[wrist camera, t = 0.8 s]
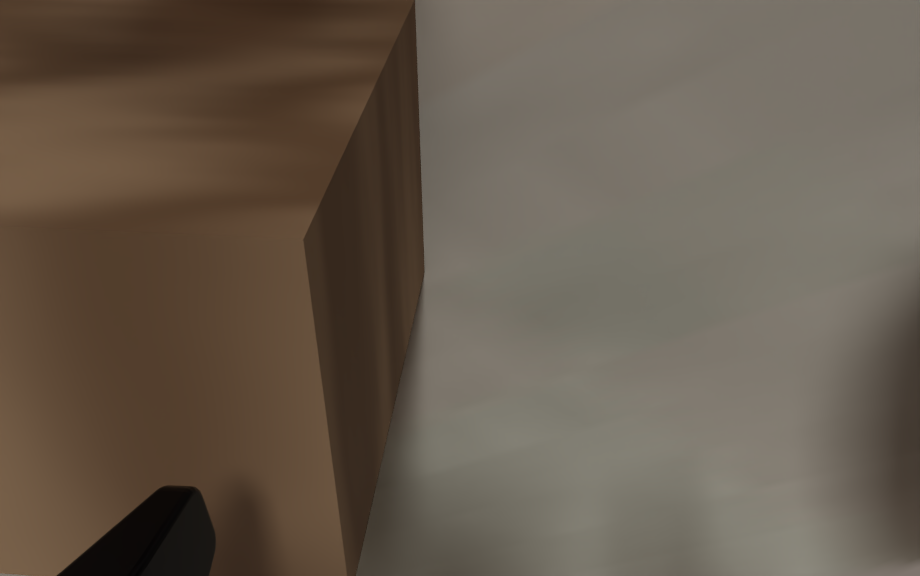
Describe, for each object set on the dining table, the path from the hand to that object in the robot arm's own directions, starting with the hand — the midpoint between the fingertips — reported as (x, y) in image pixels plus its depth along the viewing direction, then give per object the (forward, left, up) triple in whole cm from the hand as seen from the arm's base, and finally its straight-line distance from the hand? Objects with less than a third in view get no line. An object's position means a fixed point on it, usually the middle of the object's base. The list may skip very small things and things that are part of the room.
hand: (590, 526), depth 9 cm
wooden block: (+11, +3, -12) cm, 16 cm away
